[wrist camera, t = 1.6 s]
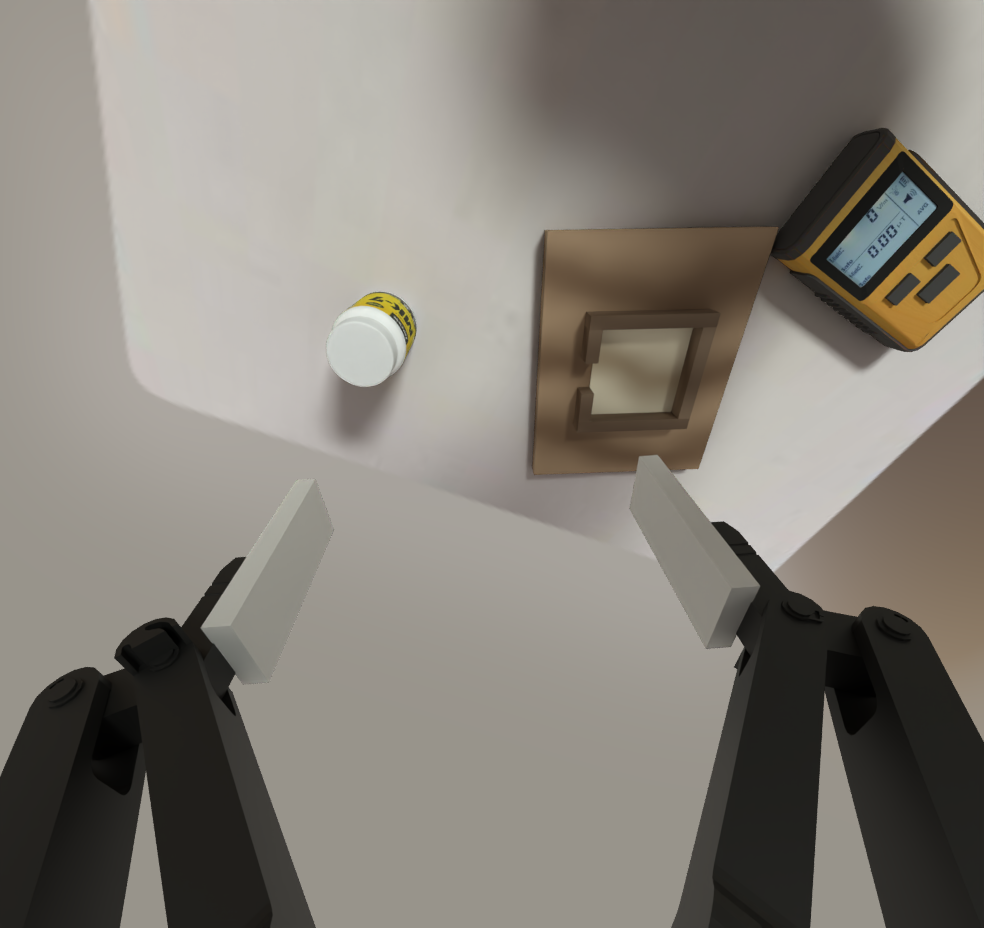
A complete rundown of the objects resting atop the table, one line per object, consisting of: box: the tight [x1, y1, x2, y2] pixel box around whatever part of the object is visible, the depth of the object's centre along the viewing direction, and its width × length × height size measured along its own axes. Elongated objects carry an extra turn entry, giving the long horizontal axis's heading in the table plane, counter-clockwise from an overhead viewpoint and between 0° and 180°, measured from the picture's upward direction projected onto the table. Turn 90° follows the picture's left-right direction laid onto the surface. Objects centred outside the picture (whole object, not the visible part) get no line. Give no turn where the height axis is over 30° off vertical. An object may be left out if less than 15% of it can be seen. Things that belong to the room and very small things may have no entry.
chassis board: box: [532, 226, 779, 475], centre depth 32 cm, size 20×16×3 cm
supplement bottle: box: [326, 291, 416, 387], centre depth 27 cm, size 5×5×8 cm
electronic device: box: [770, 128, 984, 352], centre depth 28 cm, size 8×16×3 cm, turn 62°
